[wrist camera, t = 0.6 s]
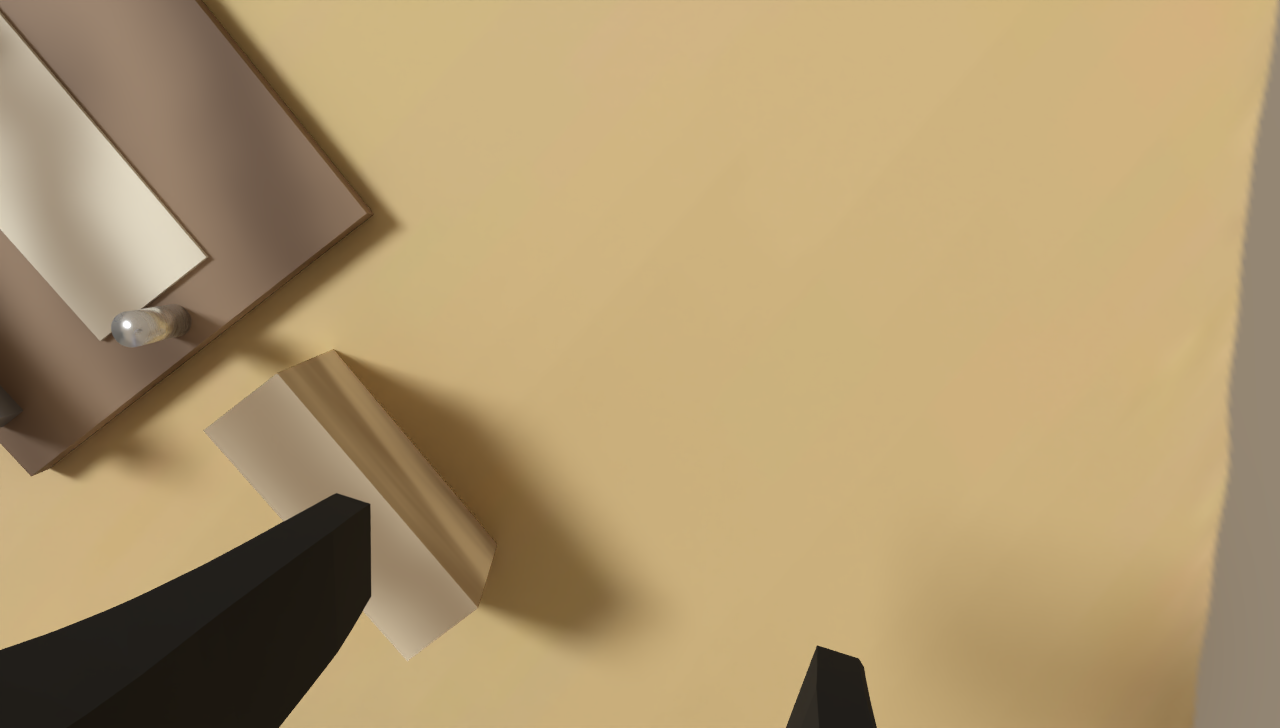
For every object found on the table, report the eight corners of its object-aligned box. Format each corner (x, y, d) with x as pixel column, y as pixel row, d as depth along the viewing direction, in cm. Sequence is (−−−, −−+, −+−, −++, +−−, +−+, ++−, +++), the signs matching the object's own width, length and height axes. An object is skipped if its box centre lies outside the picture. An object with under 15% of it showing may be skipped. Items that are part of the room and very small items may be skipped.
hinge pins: (173, 343, 31) (128, 354, 28) (-126, 1, 29) (-209, -26, 26) (198, 323, 31) (156, 332, 28) (-99, -21, 28) (-180, -51, 26)
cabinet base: (48, 469, 32) (-51, 510, 27) (-272, 125, 30) (-444, 102, 25) (373, 214, 31) (333, 209, 27) (73, -160, 29) (-34, -242, 24)
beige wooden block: (439, 587, 34) (407, 661, 28) (274, 395, 32) (203, 430, 26) (497, 543, 34) (478, 607, 28) (334, 348, 32) (277, 373, 26)
